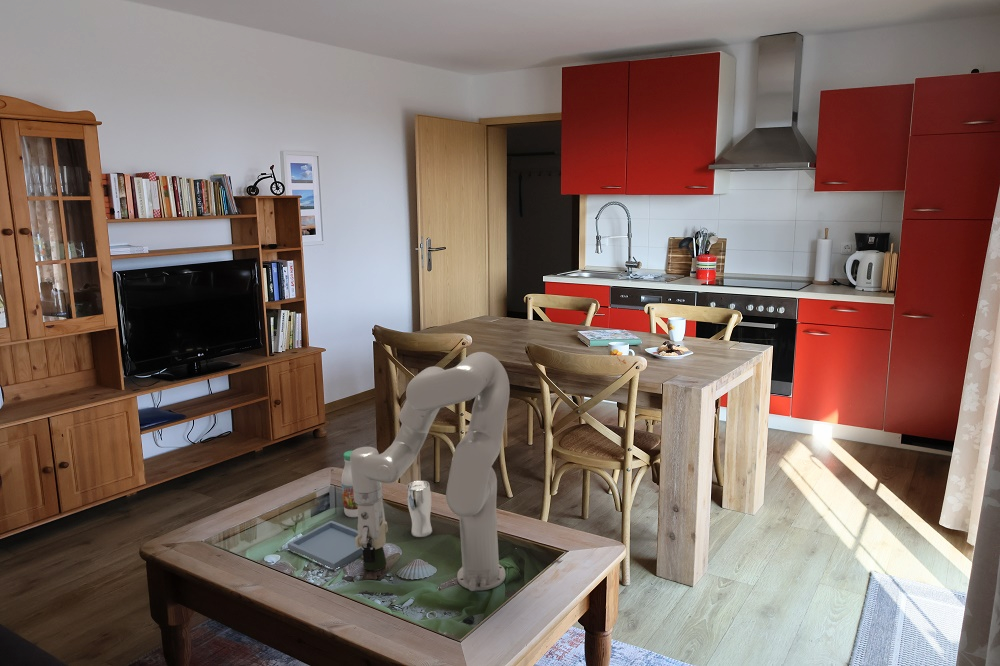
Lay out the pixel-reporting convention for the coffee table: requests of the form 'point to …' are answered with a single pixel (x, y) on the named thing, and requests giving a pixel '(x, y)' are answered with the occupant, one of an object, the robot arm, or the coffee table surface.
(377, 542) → the character mug
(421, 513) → the beer glass
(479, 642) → the coffee table surface
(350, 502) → the milk bottle
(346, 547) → the tray
